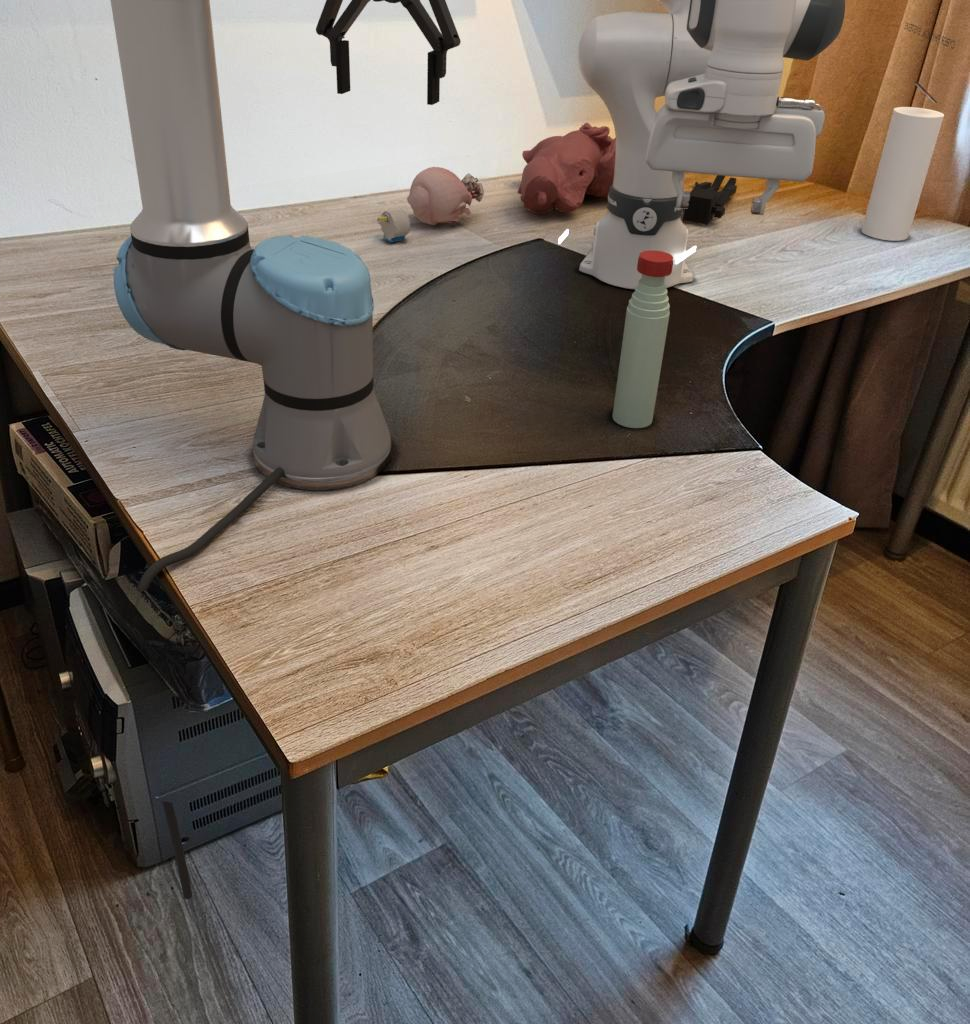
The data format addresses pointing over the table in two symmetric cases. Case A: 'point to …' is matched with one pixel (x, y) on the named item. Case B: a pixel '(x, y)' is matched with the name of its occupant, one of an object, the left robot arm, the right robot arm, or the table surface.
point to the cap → (655, 263)
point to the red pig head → (568, 170)
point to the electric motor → (394, 225)
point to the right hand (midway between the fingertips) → (719, 210)
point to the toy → (442, 195)
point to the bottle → (642, 353)
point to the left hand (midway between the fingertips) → (388, 97)
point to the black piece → (709, 200)
